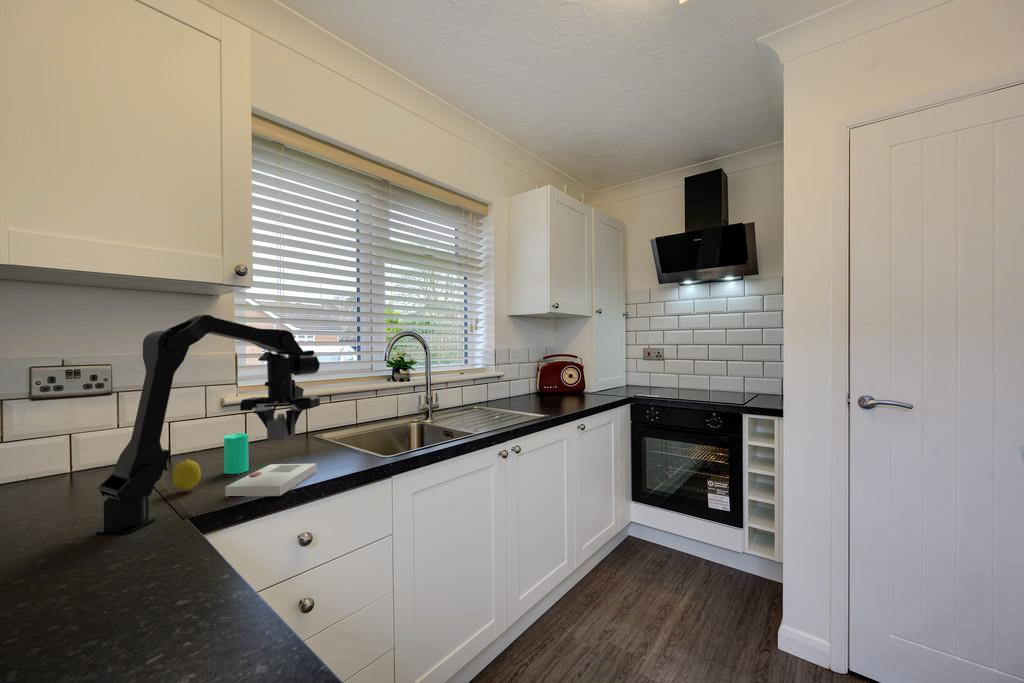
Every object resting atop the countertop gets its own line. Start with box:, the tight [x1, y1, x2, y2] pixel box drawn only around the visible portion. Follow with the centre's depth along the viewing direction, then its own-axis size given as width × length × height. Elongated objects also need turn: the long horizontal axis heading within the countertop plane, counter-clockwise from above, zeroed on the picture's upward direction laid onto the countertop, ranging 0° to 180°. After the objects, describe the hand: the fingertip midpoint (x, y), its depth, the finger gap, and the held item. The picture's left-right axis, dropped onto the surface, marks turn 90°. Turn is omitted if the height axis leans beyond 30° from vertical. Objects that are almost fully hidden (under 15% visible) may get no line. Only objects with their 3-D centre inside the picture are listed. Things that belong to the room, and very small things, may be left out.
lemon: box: [172, 458, 202, 492], centre depth 104 cm, size 6×6×8 cm
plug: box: [266, 413, 296, 441], centre depth 113 cm, size 6×4×6 cm
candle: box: [223, 430, 250, 474], centre depth 121 cm, size 6×6×12 cm
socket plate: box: [224, 463, 318, 498], centre depth 110 cm, size 19×13×3 cm
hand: (281, 435), depth 113 cm, fingers closed on plug, 4 cm apart
